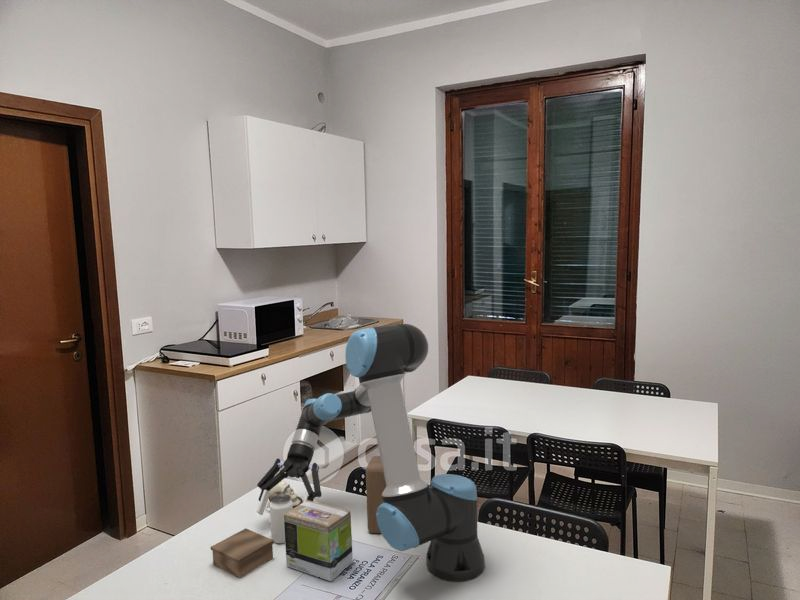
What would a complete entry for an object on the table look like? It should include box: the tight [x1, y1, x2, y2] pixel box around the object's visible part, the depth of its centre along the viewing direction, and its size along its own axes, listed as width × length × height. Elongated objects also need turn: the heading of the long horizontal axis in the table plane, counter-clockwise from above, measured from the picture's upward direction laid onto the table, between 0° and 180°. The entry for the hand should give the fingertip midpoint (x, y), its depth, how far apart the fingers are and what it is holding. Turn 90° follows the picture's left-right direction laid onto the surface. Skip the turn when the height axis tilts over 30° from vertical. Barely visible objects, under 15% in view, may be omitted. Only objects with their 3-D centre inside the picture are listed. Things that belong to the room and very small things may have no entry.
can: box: [269, 494, 293, 545], centre depth 163 cm, size 6×6×12 cm
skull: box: [268, 481, 304, 508], centre depth 184 cm, size 12×10×10 cm
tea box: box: [284, 500, 353, 582], centre depth 149 cm, size 15×10×15 cm
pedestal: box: [210, 528, 275, 579], centre depth 152 cm, size 12×12×5 cm
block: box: [365, 455, 386, 534], centre depth 168 cm, size 10×10×20 cm
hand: (280, 516), depth 163 cm, fingers open, 13 cm apart
